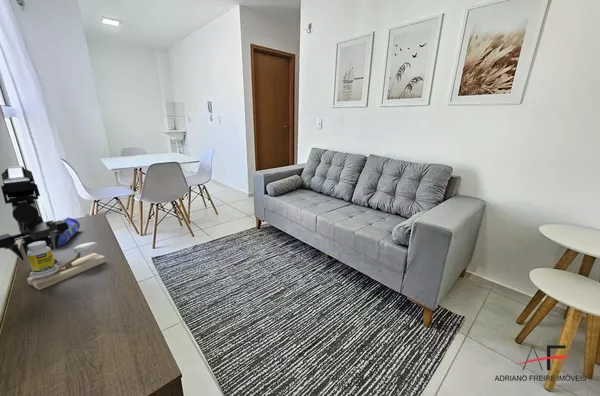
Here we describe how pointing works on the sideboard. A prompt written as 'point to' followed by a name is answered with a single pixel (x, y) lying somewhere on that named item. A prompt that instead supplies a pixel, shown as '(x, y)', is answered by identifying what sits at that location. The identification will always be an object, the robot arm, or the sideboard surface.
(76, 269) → the balance
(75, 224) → the pencil case
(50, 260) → the pill bottle
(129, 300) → the sideboard surface
